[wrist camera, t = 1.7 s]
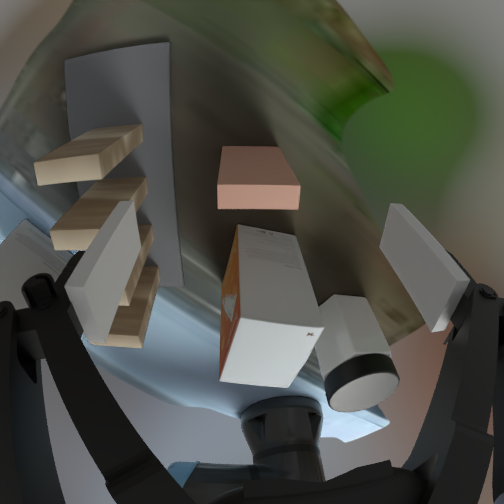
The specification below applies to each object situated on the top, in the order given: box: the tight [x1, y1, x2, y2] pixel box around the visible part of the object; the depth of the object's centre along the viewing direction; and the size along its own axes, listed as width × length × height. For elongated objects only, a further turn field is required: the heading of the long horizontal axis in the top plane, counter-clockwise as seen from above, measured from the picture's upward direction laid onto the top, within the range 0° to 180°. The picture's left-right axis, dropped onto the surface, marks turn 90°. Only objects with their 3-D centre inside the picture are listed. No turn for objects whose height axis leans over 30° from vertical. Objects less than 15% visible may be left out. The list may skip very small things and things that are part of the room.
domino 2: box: [49, 177, 148, 250], centre depth 23 cm, size 2×5×10 cm, turn 88°
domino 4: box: [90, 266, 160, 348], centre depth 29 cm, size 2×5×10 cm, turn 88°
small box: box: [219, 224, 324, 388], centre depth 28 cm, size 8×6×13 cm
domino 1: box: [34, 124, 144, 186], centre depth 21 cm, size 2×5×10 cm, turn 88°
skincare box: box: [0, 219, 74, 310], centre depth 25 cm, size 8×7×16 cm
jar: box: [315, 294, 400, 412], centre depth 34 cm, size 9×8×12 cm
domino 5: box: [217, 146, 301, 209], centre depth 23 cm, size 2×5×10 cm, turn 88°
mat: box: [64, 42, 184, 287], centre depth 27 cm, size 25×10×1 cm, turn 178°
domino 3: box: [119, 225, 154, 306], centre depth 26 cm, size 2×5×10 cm, turn 88°
